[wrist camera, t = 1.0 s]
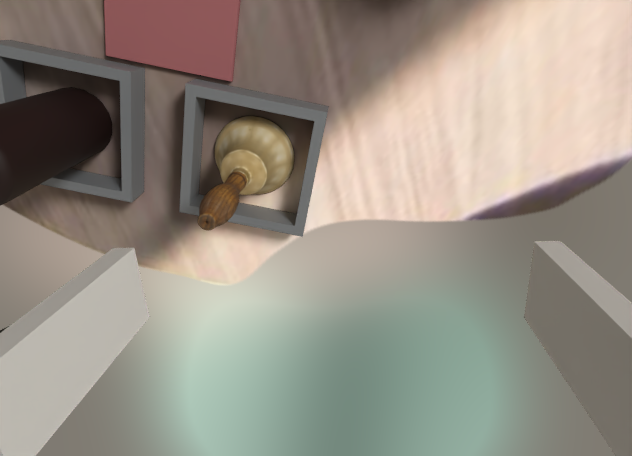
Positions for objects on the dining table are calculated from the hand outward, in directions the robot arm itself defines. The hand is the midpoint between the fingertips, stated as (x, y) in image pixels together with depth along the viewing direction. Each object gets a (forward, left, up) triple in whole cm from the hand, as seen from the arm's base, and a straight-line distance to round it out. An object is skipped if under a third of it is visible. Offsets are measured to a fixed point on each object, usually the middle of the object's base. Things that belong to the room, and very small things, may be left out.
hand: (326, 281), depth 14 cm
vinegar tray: (+7, -26, -30) cm, 40 cm away
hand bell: (+7, -8, -31) cm, 32 cm away
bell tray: (+7, -8, -30) cm, 32 cm away
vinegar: (+7, -26, -31) cm, 40 cm away
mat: (-6, -17, -30) cm, 35 cm away
